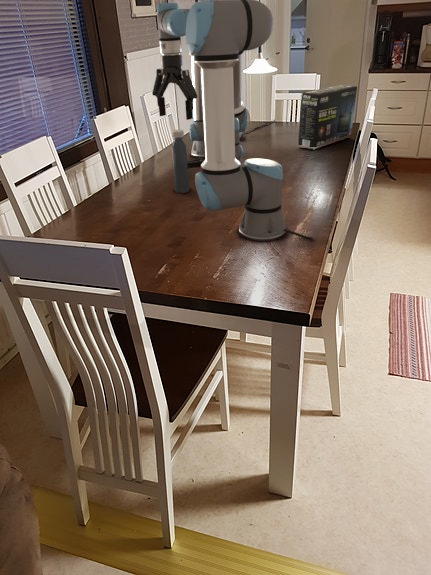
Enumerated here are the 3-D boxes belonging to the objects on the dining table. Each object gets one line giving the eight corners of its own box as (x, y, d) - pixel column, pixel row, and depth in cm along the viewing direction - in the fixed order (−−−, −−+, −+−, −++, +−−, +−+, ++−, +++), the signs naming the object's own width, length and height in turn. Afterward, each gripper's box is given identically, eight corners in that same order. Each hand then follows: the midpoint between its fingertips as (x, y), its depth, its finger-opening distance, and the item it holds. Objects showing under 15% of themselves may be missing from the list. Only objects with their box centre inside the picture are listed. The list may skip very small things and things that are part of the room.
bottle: (187, 193, 185) (183, 133, 173) (174, 193, 185) (168, 133, 173) (190, 188, 190) (186, 130, 178) (176, 188, 190) (172, 130, 178)
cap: (182, 137, 174) (182, 132, 173) (171, 137, 175) (170, 132, 174) (184, 134, 178) (184, 129, 177) (173, 135, 178) (173, 129, 177)
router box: (314, 151, 231) (318, 94, 217) (296, 148, 237) (299, 92, 224) (352, 138, 251) (358, 85, 238) (335, 135, 258) (340, 83, 245)
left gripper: (244, 171, 198) (216, 186, 183) (197, 164, 211) (168, 177, 196) (244, 154, 194) (216, 167, 180) (196, 147, 207) (166, 159, 192)
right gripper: (138, 54, 166) (145, 116, 177) (191, 56, 152) (194, 122, 163) (153, 52, 171) (159, 112, 182) (205, 54, 157) (207, 118, 168)
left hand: (191, 172), depth 188 cm, fingers open, 13 cm apart
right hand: (175, 117), depth 172 cm, fingers open, 13 cm apart
